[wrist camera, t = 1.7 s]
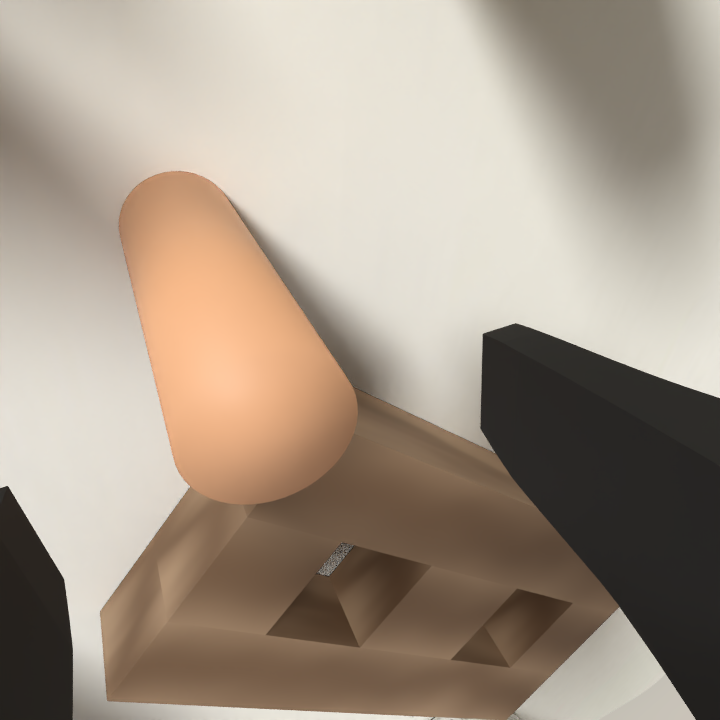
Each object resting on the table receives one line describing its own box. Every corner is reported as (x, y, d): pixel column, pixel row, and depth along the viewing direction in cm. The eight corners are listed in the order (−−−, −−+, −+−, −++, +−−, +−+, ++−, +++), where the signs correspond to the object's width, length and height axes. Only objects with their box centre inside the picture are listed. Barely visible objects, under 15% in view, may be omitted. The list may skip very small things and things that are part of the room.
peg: (198, 296, 18) (290, 521, 11) (97, 247, 17) (134, 478, 10) (255, 209, 18) (391, 391, 11) (156, 148, 16) (243, 320, 9)
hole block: (471, 661, 36) (505, 720, 34) (100, 611, 23) (107, 700, 21) (616, 509, 34) (665, 560, 31) (285, 355, 20) (321, 420, 18)
